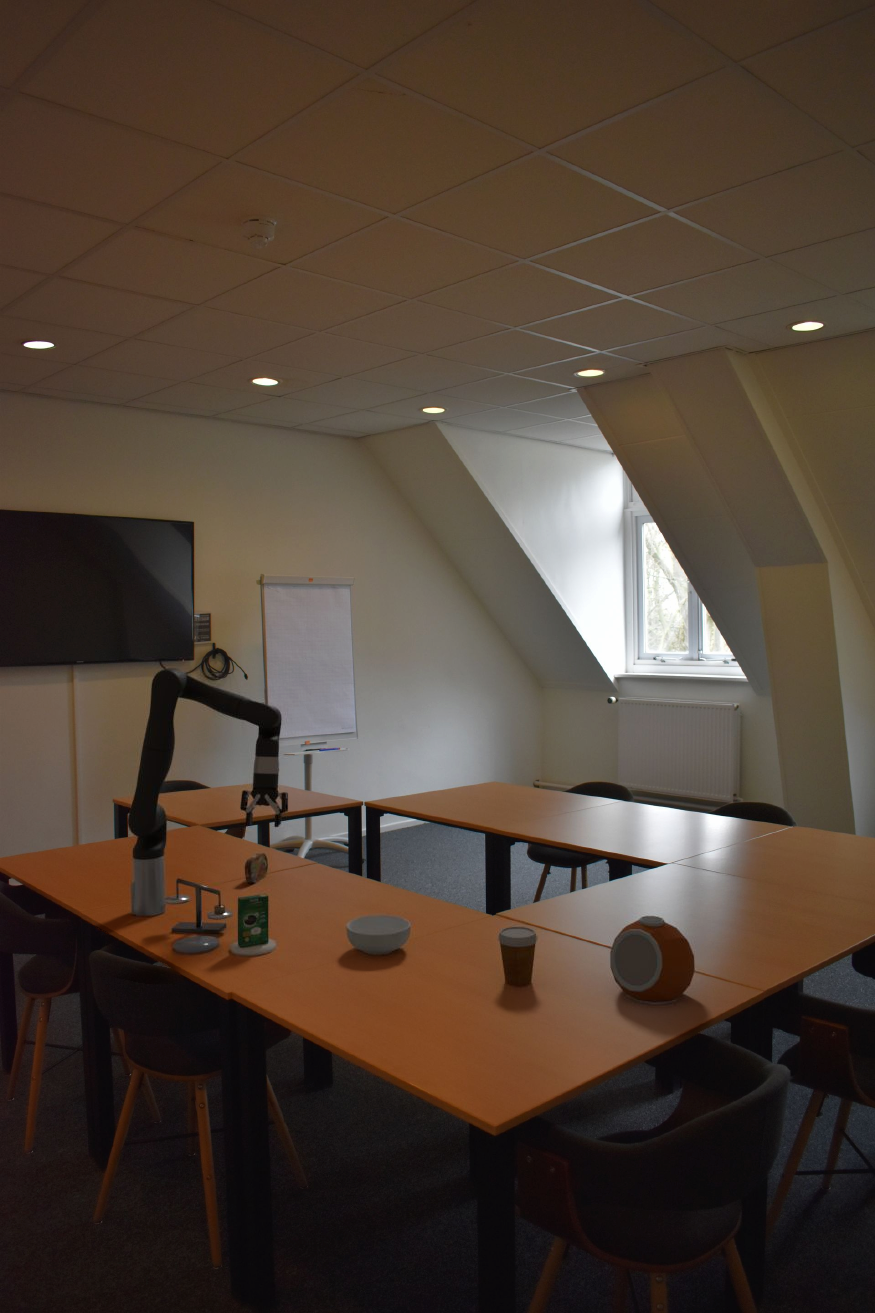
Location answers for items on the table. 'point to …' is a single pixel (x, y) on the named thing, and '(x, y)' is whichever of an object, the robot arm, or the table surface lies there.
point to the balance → (199, 911)
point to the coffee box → (252, 920)
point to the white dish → (253, 949)
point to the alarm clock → (652, 961)
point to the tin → (256, 868)
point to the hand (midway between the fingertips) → (263, 826)
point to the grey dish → (196, 945)
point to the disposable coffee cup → (517, 954)
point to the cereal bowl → (378, 933)
